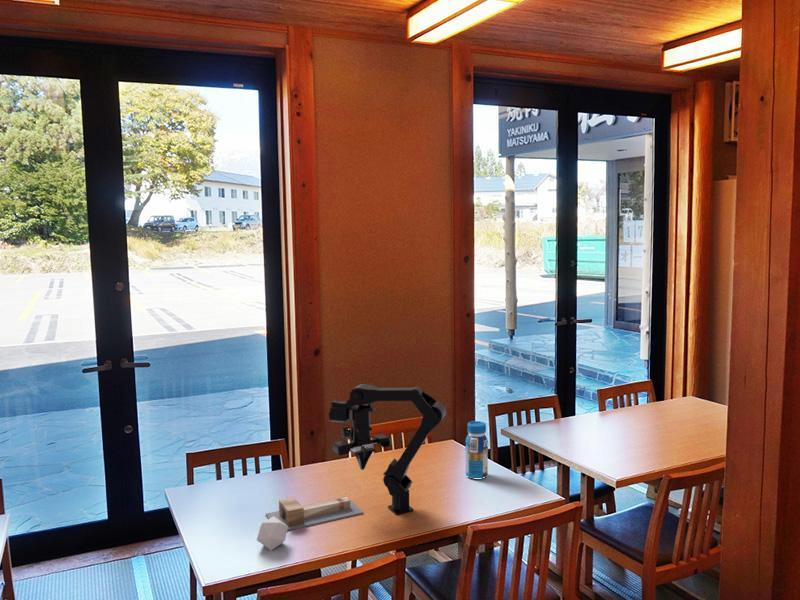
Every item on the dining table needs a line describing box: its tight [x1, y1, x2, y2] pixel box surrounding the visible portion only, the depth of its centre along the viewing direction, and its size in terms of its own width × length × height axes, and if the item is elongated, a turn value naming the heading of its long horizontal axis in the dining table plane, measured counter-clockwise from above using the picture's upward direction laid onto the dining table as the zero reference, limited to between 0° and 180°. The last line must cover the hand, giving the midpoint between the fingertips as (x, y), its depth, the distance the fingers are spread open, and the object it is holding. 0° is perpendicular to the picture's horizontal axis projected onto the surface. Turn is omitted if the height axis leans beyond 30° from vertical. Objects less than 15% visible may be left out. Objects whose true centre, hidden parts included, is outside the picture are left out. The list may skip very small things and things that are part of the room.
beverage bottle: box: [464, 420, 489, 478], centre depth 241 cm, size 8×8×20 cm
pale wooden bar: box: [301, 496, 351, 518], centre depth 211 cm, size 3×18×3 cm, turn 118°
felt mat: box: [265, 496, 364, 532], centre depth 211 cm, size 14×28×1 cm, turn 118°
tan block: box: [278, 497, 304, 527], centre depth 206 cm, size 9×5×5 cm, turn 28°
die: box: [256, 516, 288, 551], centre depth 190 cm, size 8×9×10 cm
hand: (362, 469), depth 217 cm, fingers closed
